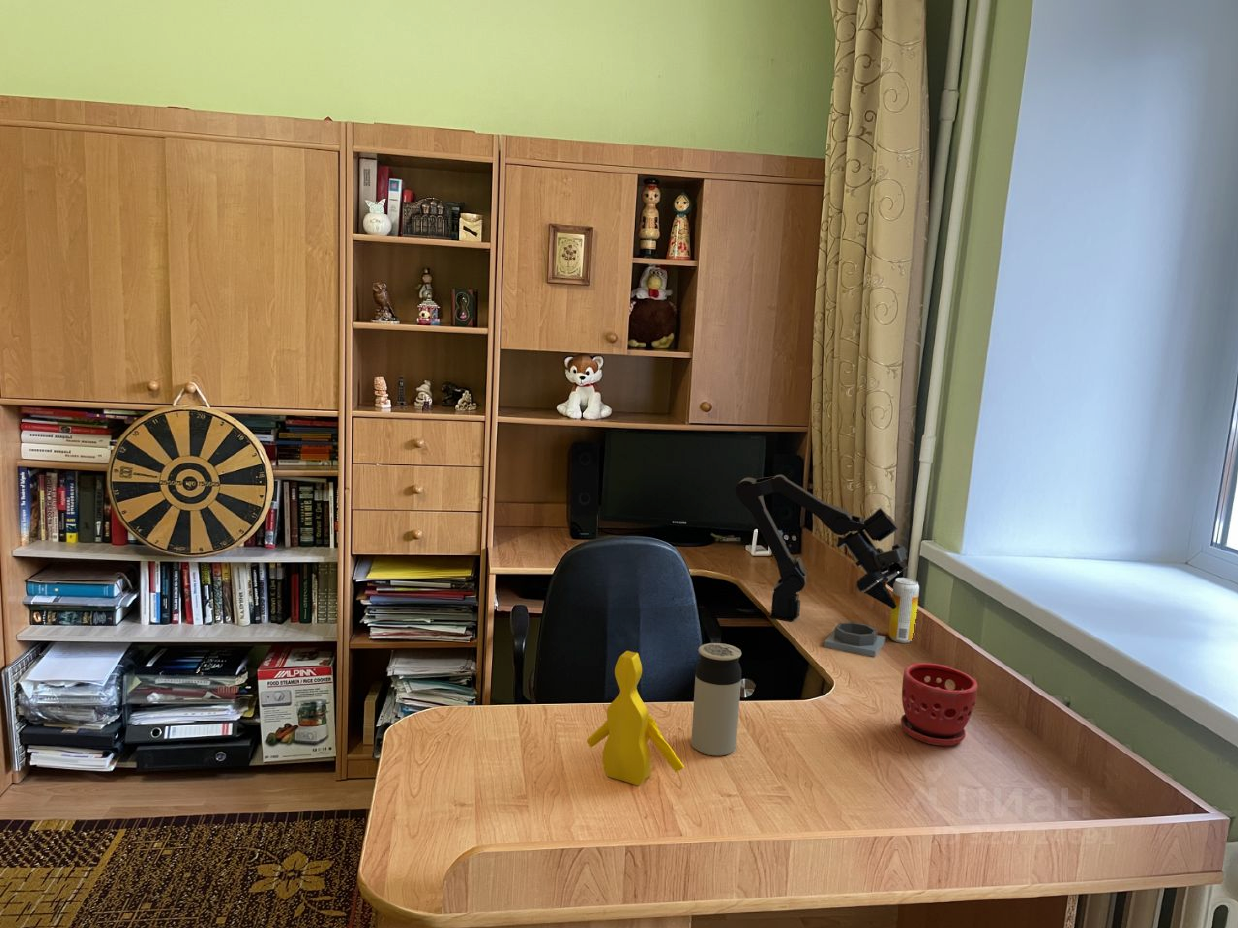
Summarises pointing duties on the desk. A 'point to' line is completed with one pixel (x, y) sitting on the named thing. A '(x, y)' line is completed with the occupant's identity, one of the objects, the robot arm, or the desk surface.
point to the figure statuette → (630, 729)
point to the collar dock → (855, 639)
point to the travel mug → (716, 699)
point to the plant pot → (937, 703)
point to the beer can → (903, 610)
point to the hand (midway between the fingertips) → (902, 604)
